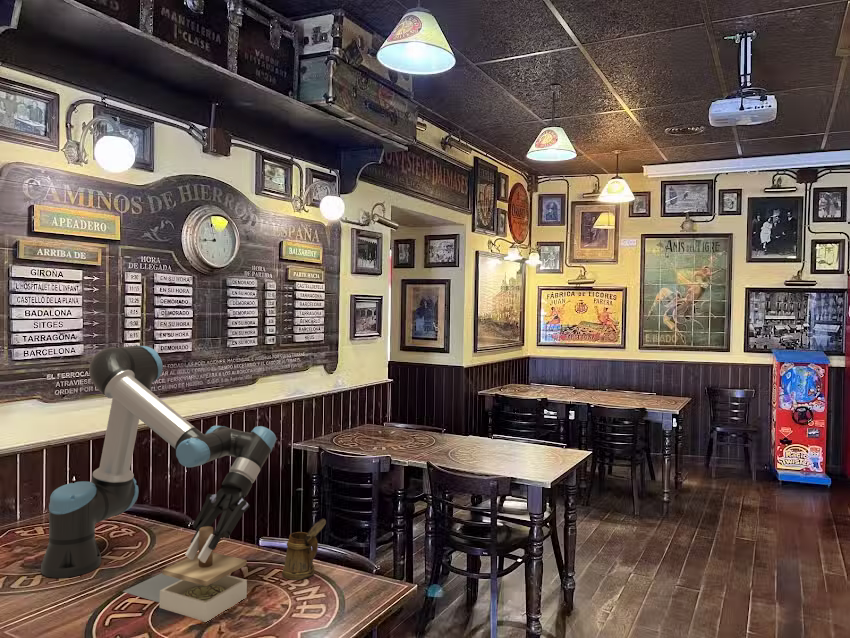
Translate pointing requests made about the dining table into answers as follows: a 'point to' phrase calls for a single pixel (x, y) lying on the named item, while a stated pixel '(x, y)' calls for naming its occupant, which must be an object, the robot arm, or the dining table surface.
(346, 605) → the dining table surface
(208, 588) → the decorated donut
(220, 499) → the robot arm
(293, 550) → the wooden mug
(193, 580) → the oak cover
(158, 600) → the rubber mat
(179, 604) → the wooden box
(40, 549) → the dining table surface
